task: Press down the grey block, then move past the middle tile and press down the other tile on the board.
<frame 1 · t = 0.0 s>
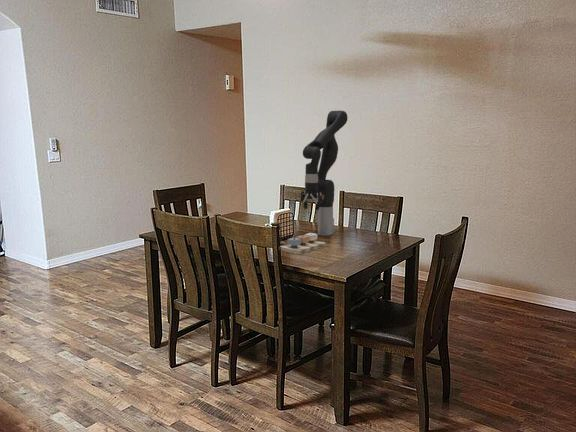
hand: (311, 209, 290), 17 cm above the table, tool pointing down, fingers open, 8 cm apart
grey block 3: (294, 241, 264), point 5 cm above the table, slide at 0.0 cm
tile 1: (311, 236, 275), point 5 cm above the table, slide at 0.0 cm
tile 2: (302, 238, 270), point 5 cm above the table, slide at 0.0 cm
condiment: (277, 244, 282), on the table
board: (303, 248, 271), on the table
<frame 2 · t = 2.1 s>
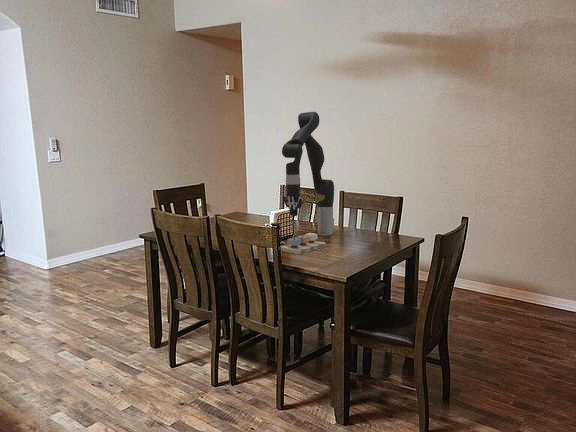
hand: (293, 215, 262), 19 cm above the table, tool pointing down, fingers closed
nothing on the table moved.
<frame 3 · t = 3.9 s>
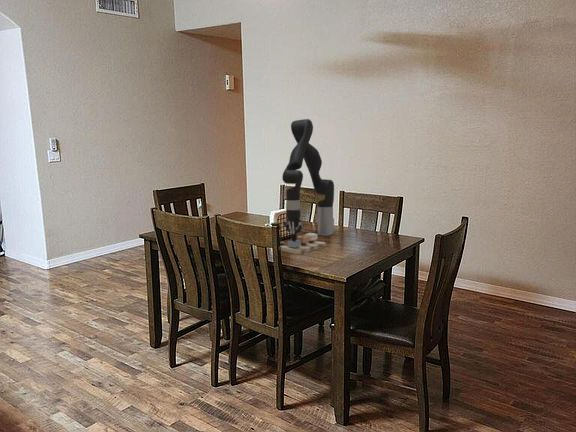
hand: (293, 240, 264), 6 cm above the table, tool pointing down, fingers closed
grey block 3: (294, 243, 265), point 4 cm above the table, slide at 1.0 cm, touching gripper
everything else where it was.
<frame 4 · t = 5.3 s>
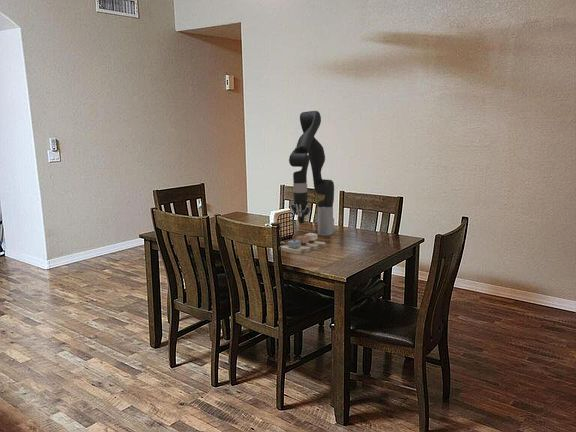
hand: (301, 223, 268), 14 cm above the table, tool pointing down, fingers closed
grey block 3: (294, 243, 265), point 4 cm above the table, slide at 1.2 cm
everything else where it was.
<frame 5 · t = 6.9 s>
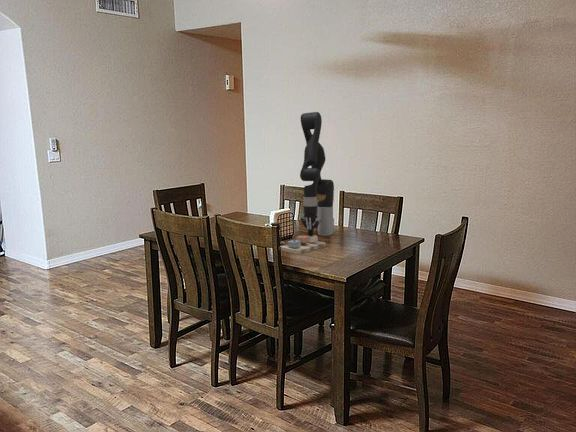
hand: (310, 235, 274), 6 cm above the table, tool pointing down, fingers closed
tile 1: (311, 238, 275), point 4 cm above the table, slide at 1.1 cm, touching gripper
everything else where it was.
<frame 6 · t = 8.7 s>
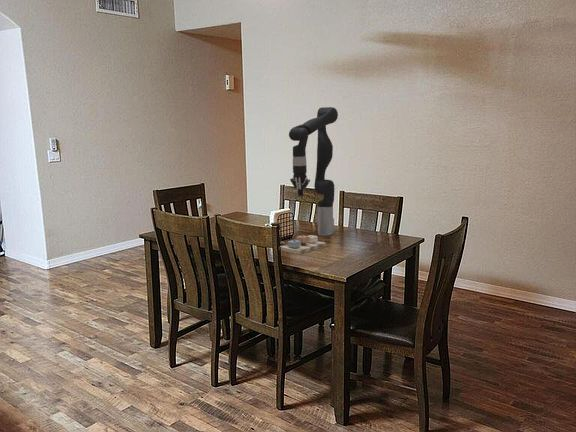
hand: (300, 195, 277), 27 cm above the table, tool pointing down, fingers closed
tile 1: (311, 238, 275), point 4 cm above the table, slide at 1.3 cm
everything else where it was.
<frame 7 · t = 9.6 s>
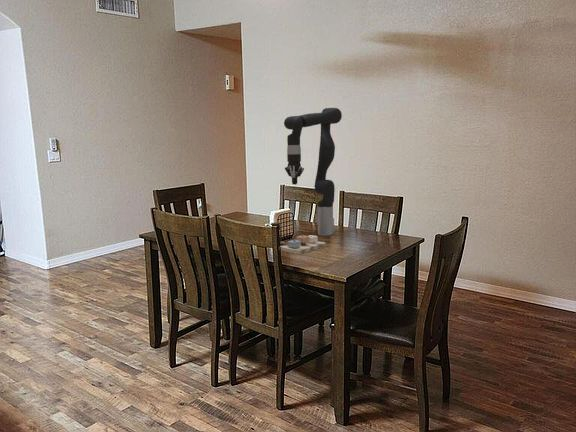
hand: (294, 184, 280), 33 cm above the table, tool pointing down, fingers closed
nothing on the table moved.
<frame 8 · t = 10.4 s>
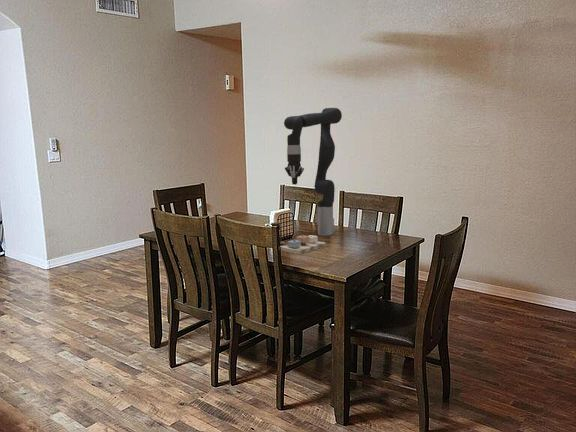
hand: (294, 184, 280), 33 cm above the table, tool pointing down, fingers closed
nothing on the table moved.
at the end: grey block 3 slide at 1.2 cm; tile 1 slide at 1.3 cm; tile 2 slide at 0.0 cm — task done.
